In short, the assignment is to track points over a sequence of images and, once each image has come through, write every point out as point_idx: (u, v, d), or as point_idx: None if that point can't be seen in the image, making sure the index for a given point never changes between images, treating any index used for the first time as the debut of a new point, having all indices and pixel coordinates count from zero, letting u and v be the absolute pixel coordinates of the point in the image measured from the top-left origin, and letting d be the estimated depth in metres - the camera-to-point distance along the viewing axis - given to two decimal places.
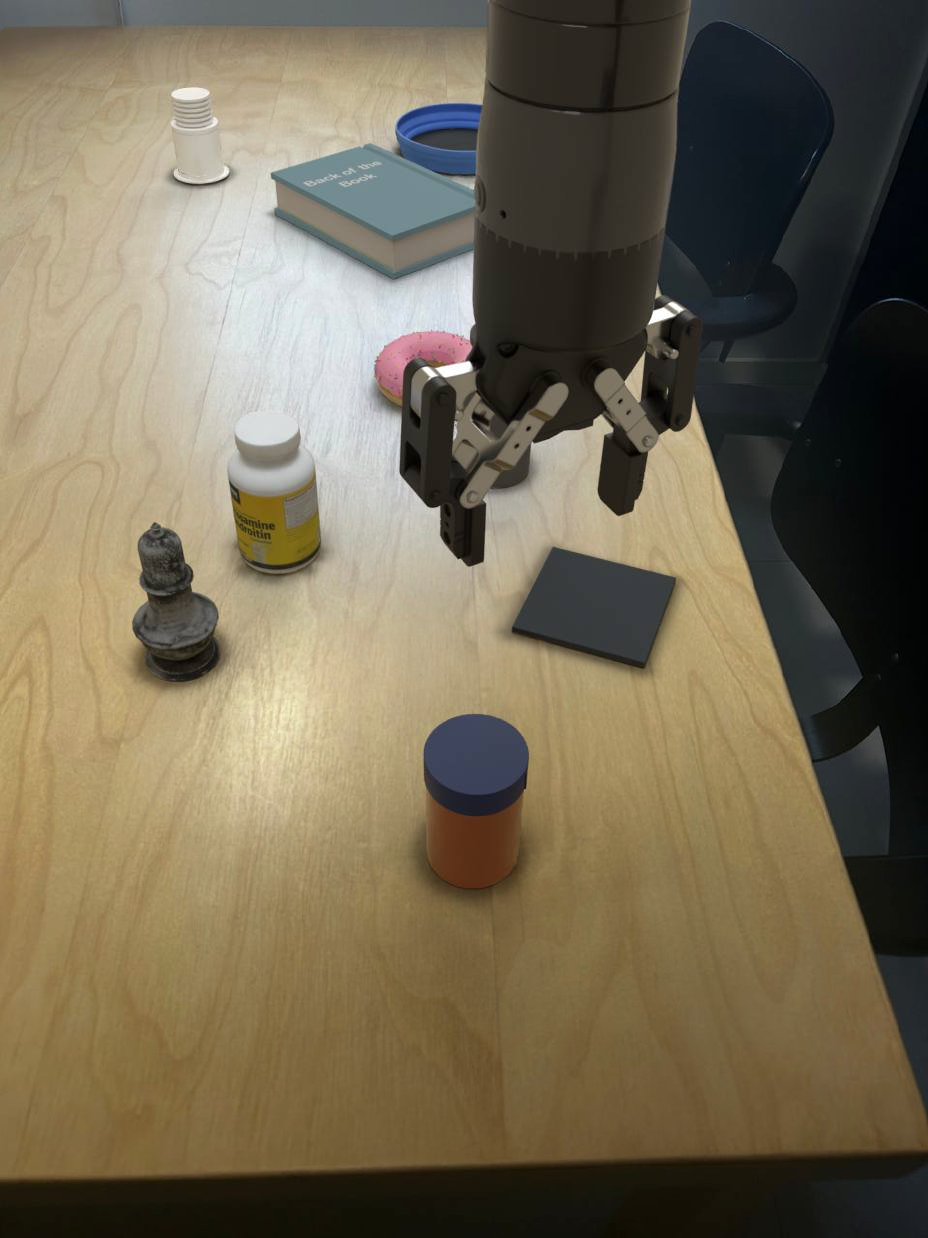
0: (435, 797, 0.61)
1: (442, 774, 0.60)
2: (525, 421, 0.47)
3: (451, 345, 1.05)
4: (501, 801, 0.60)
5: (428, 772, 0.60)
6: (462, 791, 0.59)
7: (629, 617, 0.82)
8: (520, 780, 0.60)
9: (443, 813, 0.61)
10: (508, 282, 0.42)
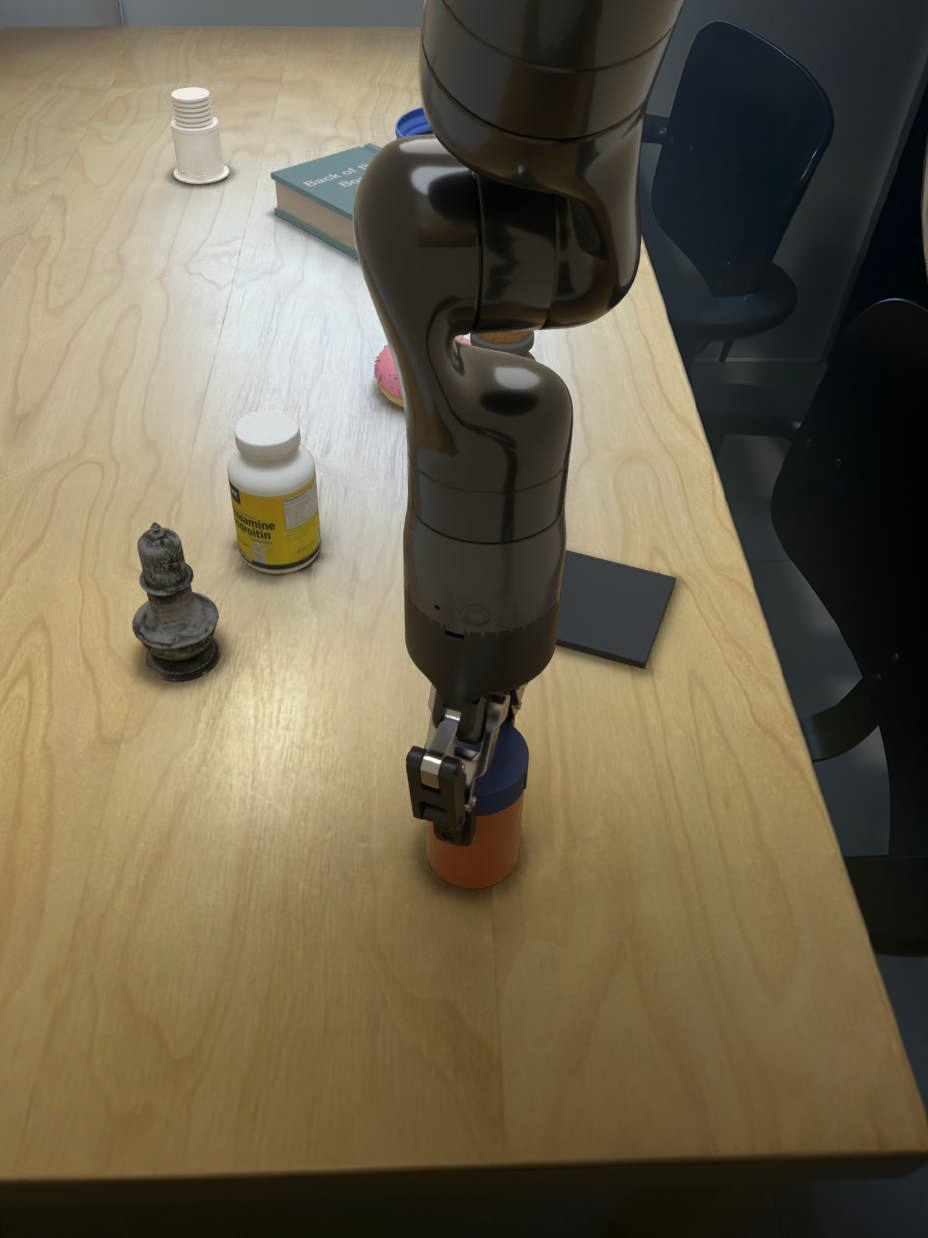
0: None
1: None
2: None
3: None
4: (501, 801, 0.60)
5: None
6: None
7: (629, 617, 0.82)
8: (520, 780, 0.60)
9: None
10: None
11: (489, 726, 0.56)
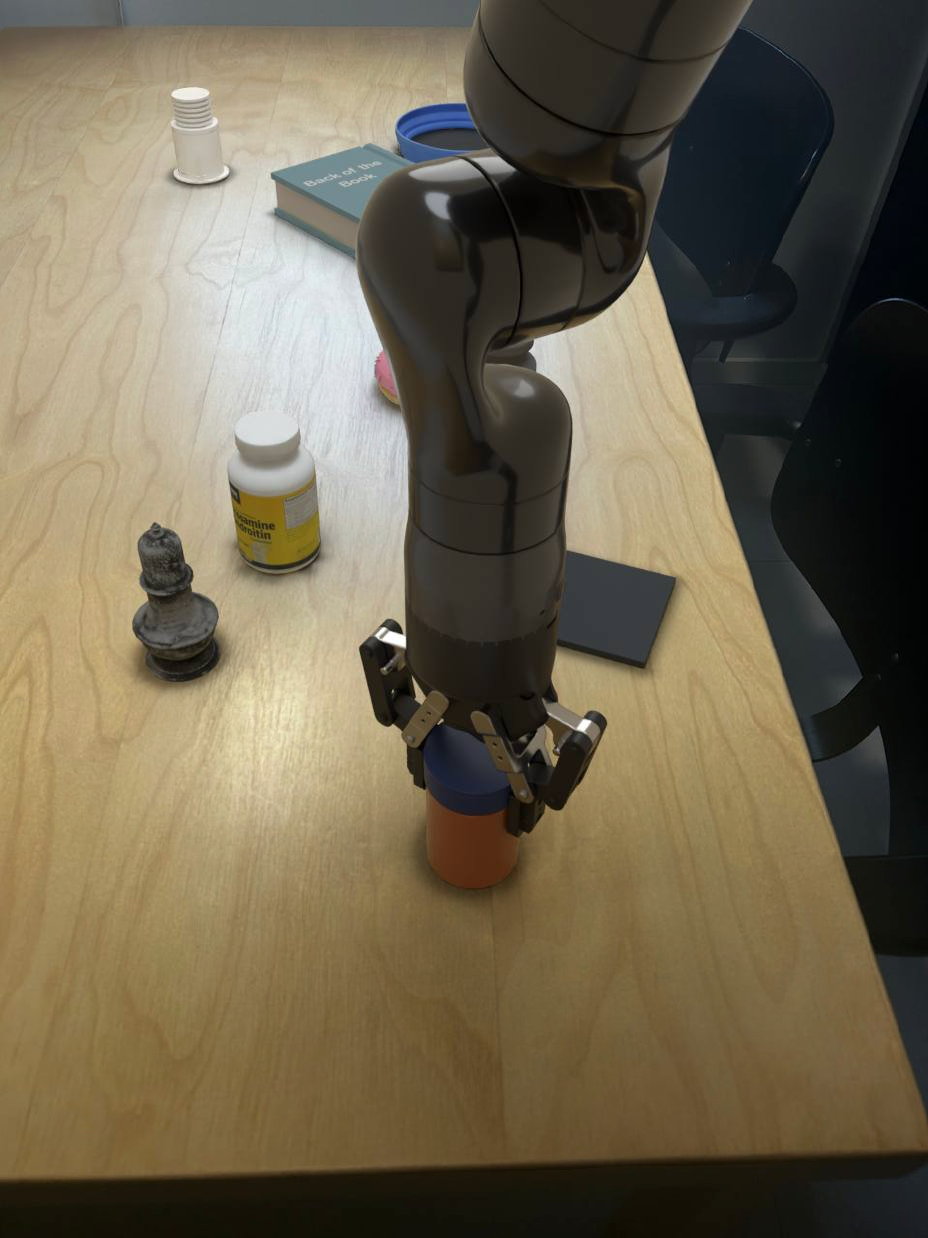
0: (502, 806, 0.60)
1: (498, 782, 0.59)
2: (424, 706, 0.58)
3: None
4: None
5: (491, 794, 0.59)
6: None
7: (629, 617, 0.82)
8: None
9: (443, 813, 0.61)
10: None
11: None
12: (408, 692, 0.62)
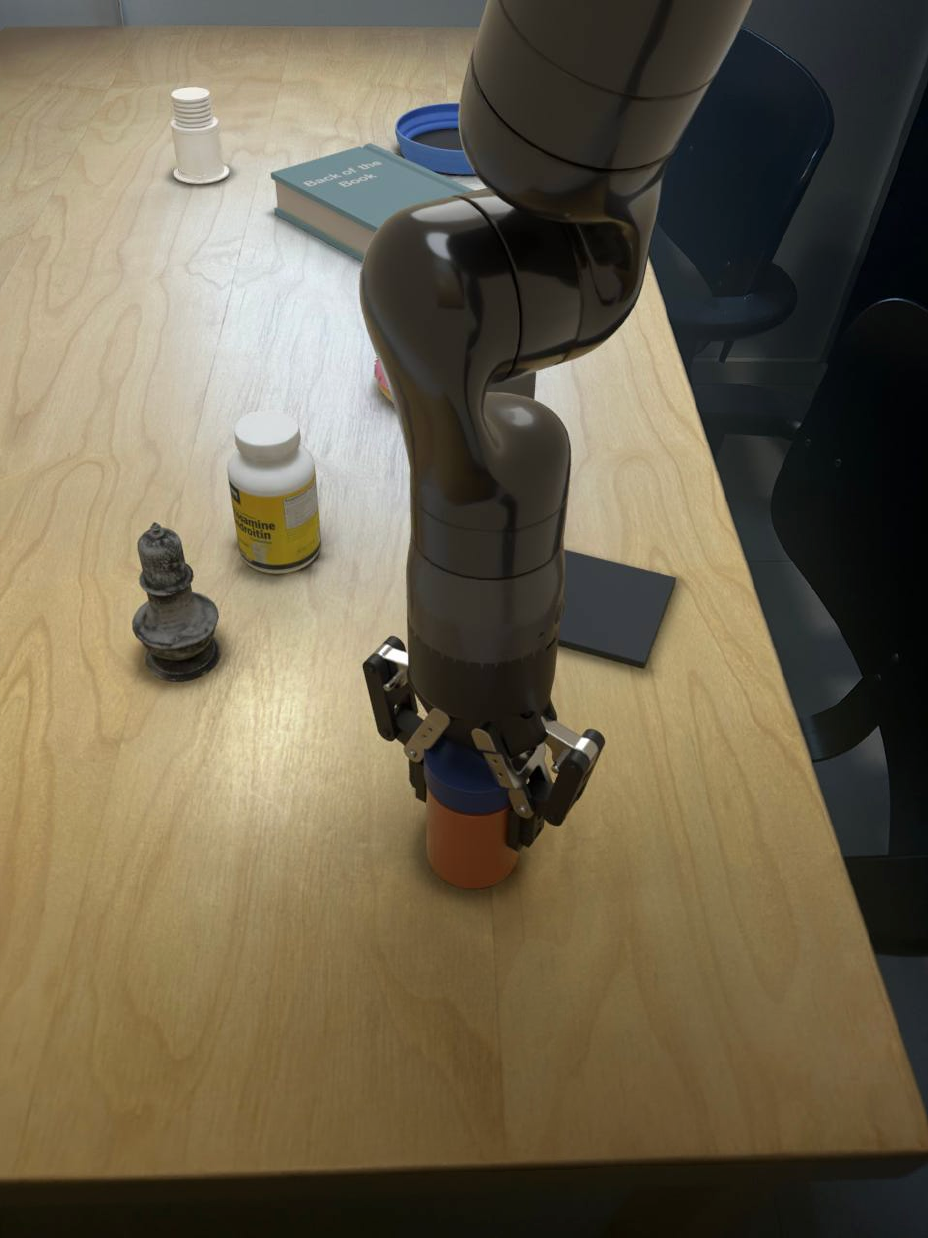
0: None
1: None
2: (426, 723, 0.59)
3: None
4: None
5: None
6: None
7: (629, 617, 0.82)
8: None
9: (443, 813, 0.61)
10: None
11: None
12: (410, 707, 0.63)
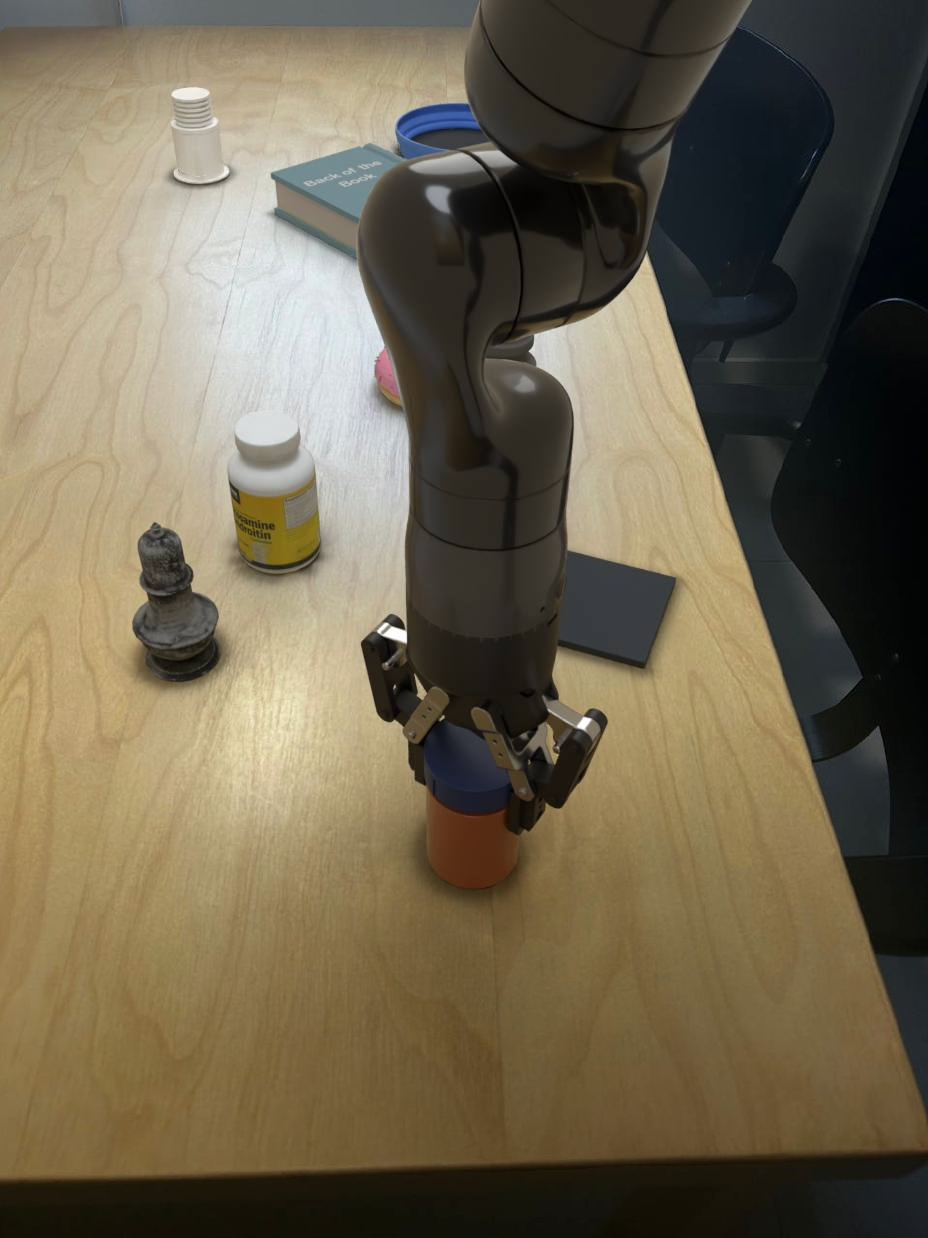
0: None
1: None
2: (425, 702, 0.58)
3: None
4: None
5: None
6: (443, 721, 0.62)
7: (629, 617, 0.82)
8: (427, 768, 0.60)
9: (443, 813, 0.61)
10: None
11: None
12: (410, 688, 0.62)
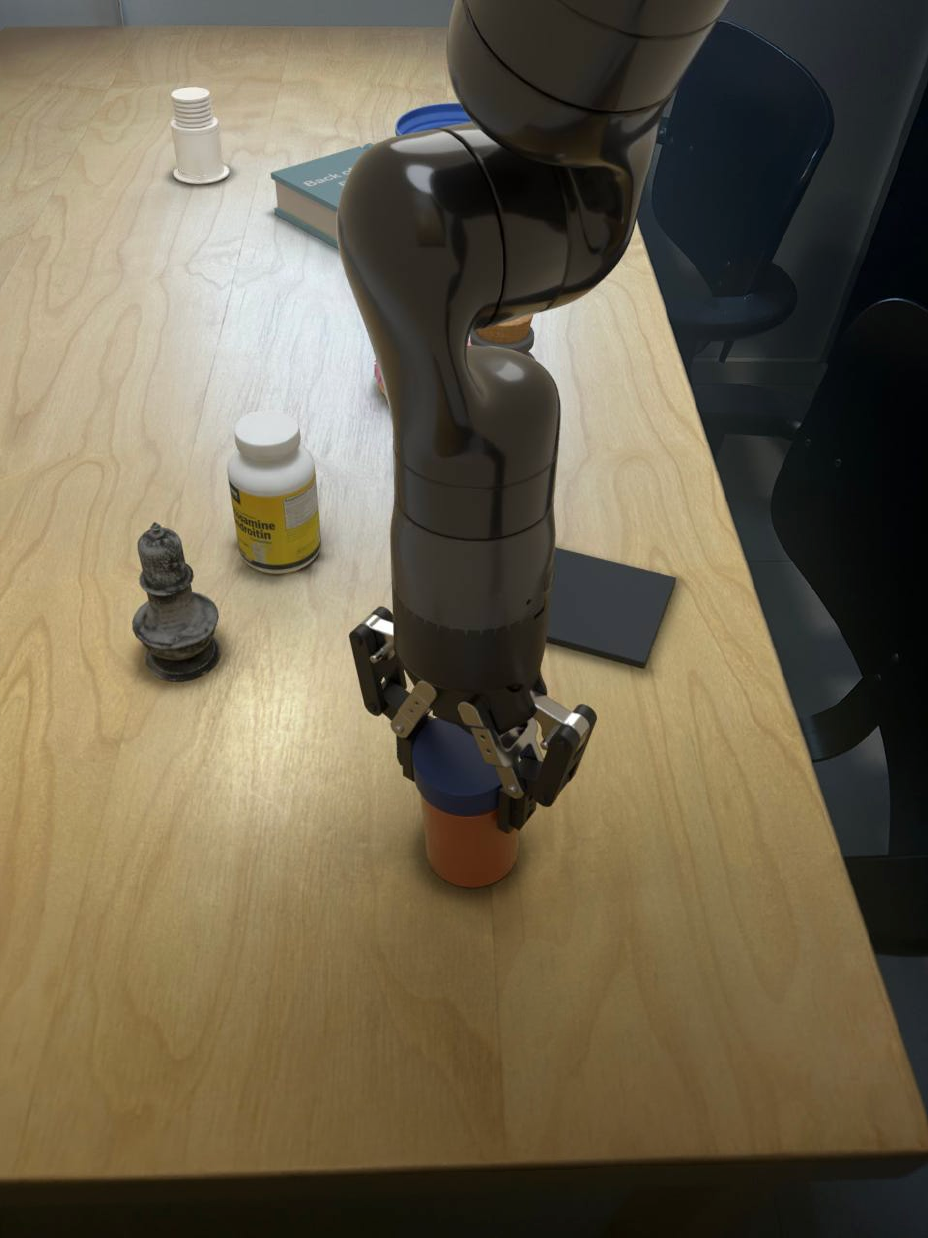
0: (453, 811, 0.59)
1: (454, 786, 0.59)
2: (412, 696, 0.57)
3: None
4: None
5: (440, 792, 0.59)
6: (483, 791, 0.58)
7: (629, 617, 0.82)
8: None
9: (437, 815, 0.61)
10: None
11: None
12: (399, 681, 0.61)
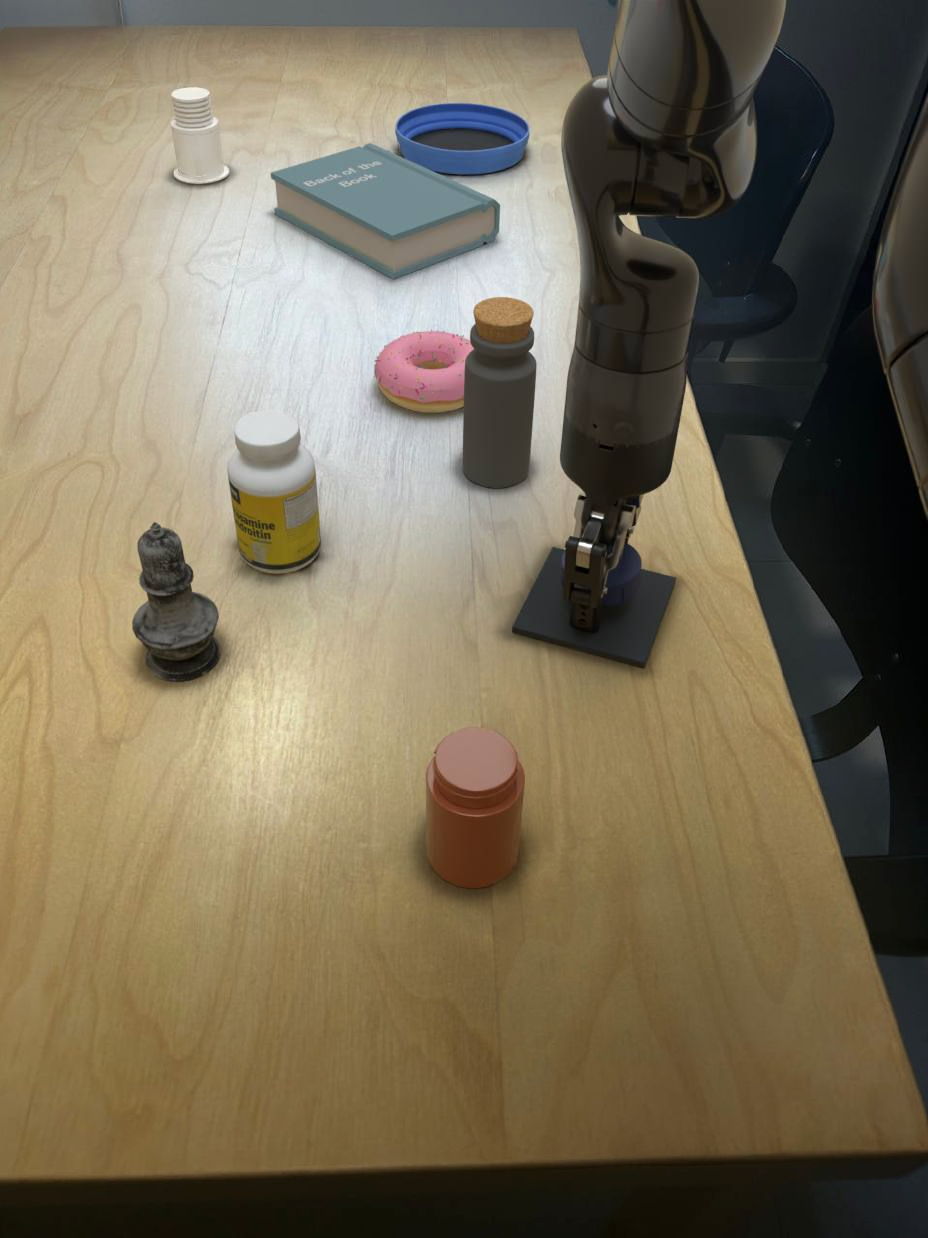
0: None
1: None
2: None
3: (451, 345, 1.05)
4: None
5: (561, 557, 0.81)
6: None
7: (629, 617, 0.82)
8: (615, 588, 0.78)
9: (444, 813, 0.61)
10: None
11: (621, 529, 0.75)
12: None
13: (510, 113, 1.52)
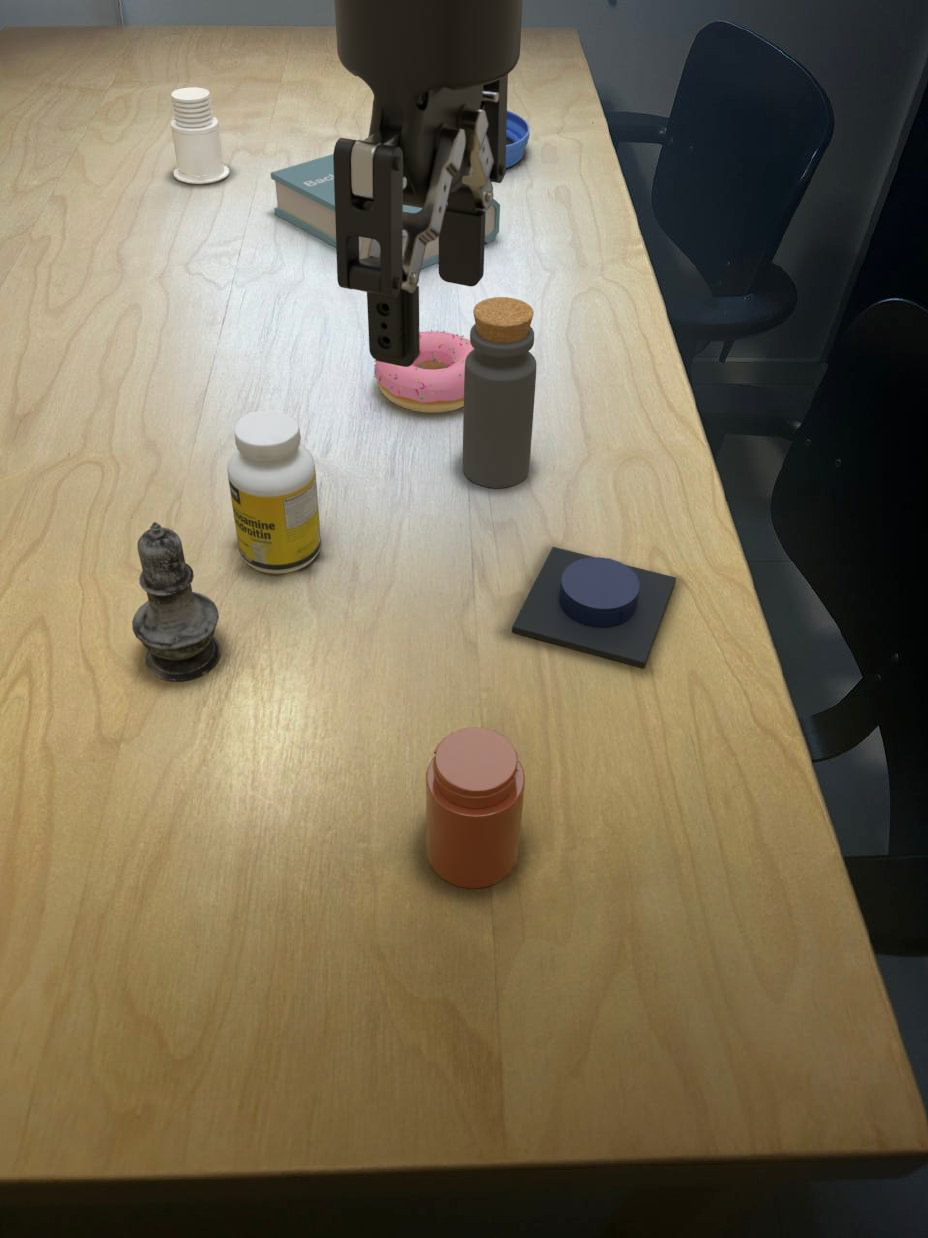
0: (559, 597, 0.83)
1: (567, 581, 0.82)
2: None
3: (451, 345, 1.05)
4: (594, 618, 0.80)
5: (561, 577, 0.82)
6: (570, 595, 0.81)
7: None
8: (613, 611, 0.80)
9: (444, 813, 0.61)
10: None
11: (439, 162, 0.46)
12: None
13: (510, 113, 1.52)
